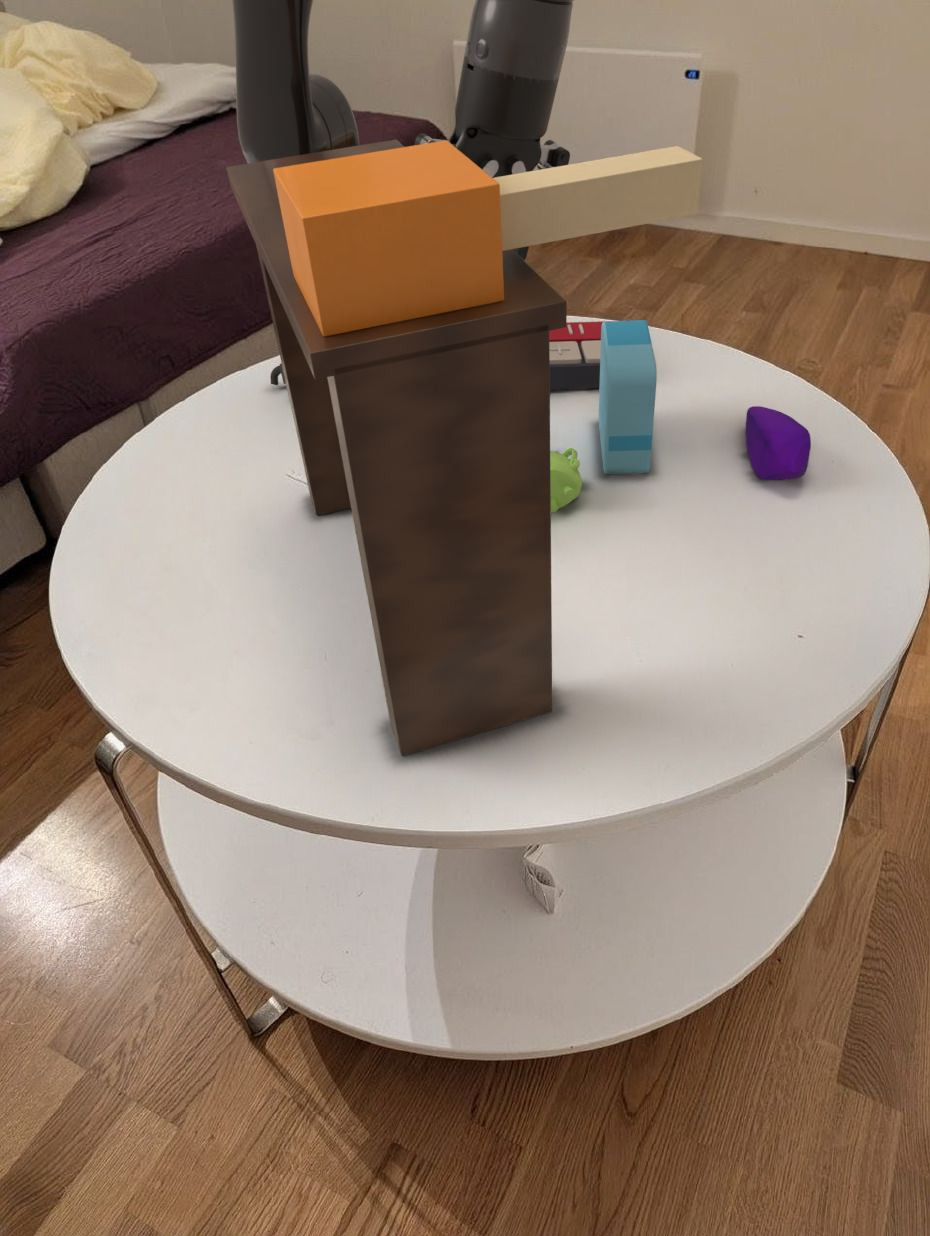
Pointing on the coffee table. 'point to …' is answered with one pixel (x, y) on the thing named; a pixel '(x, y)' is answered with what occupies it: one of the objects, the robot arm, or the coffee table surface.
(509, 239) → the toy hammer
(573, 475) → the whimsical teapot
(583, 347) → the calculator
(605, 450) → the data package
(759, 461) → the crystal
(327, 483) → the shelf
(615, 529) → the coffee table surface
